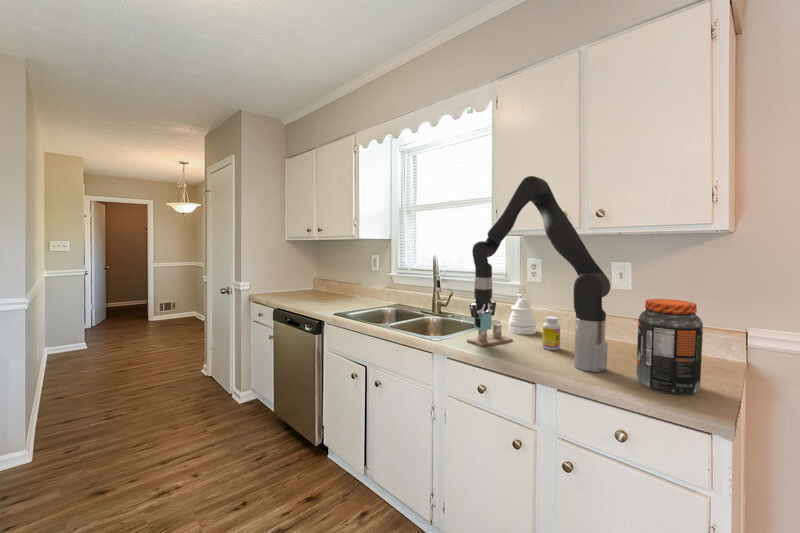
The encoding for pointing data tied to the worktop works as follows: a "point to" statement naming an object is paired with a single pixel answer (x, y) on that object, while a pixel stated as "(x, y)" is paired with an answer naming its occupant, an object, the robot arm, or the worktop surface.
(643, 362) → the supplement tub
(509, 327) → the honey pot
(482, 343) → the stand
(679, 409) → the worktop surface
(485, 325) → the teal block
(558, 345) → the supplement bottle
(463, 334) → the worktop surface
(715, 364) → the worktop surface
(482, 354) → the worktop surface
